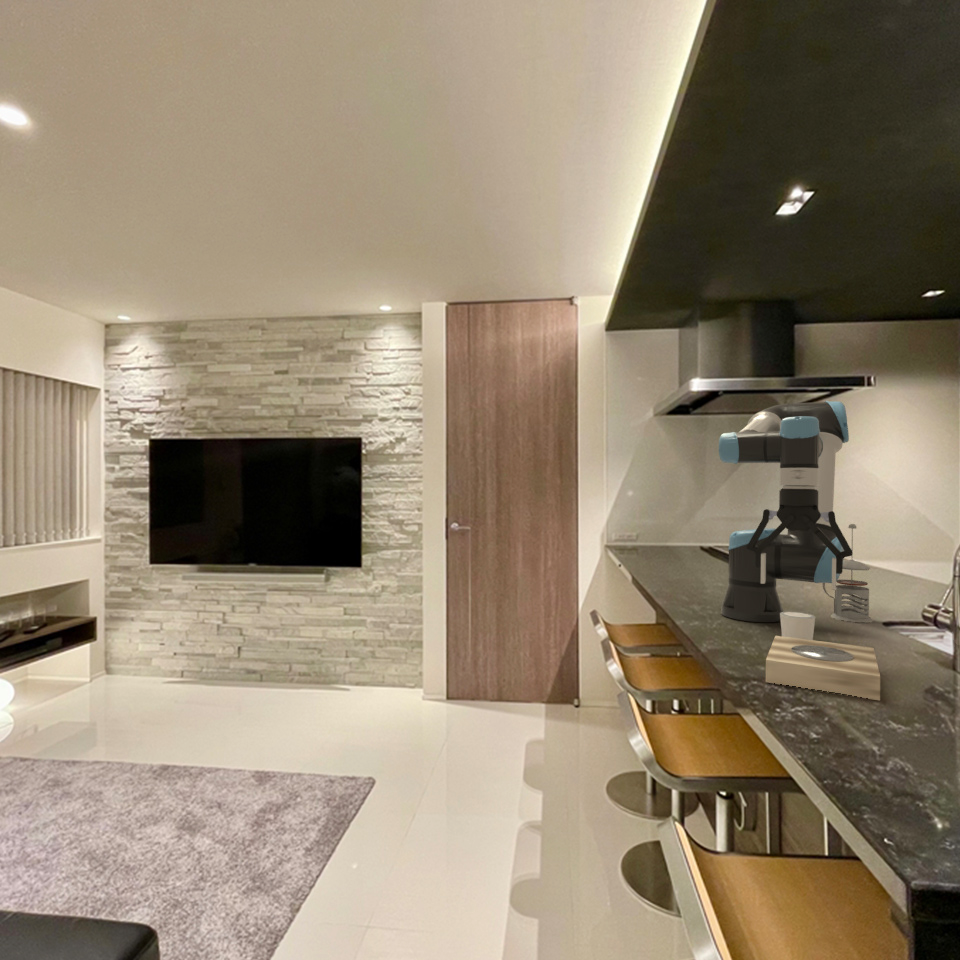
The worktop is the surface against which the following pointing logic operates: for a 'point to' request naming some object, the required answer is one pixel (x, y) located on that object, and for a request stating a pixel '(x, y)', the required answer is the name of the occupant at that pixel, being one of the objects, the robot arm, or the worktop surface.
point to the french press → (851, 594)
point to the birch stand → (824, 667)
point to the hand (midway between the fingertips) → (797, 586)
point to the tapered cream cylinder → (797, 625)
